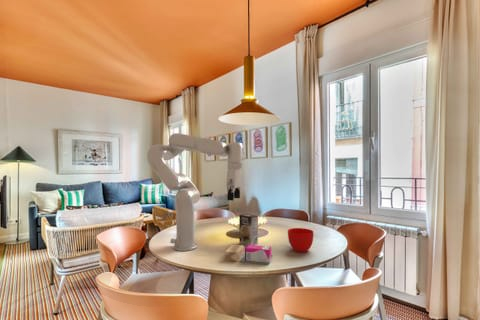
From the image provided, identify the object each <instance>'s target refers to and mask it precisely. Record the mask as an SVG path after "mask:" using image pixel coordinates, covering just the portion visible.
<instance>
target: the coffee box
mask: <svg viewBox="0 0 480 320" xmlns="http://www.w3.org/2000/svg"><path fill="white" fill-rule="evenodd" d="M238 217H239V218H238V219H239V220H238V224H239V225H238V226H239V227H238V228H239V229H238V231H239V235H238V236H239V240H238V241H239V242H238V243H239V244H241V245H244V246H247V245H258V244H259V215H257V214H251V213H250V214H249V213H242V214H241V213H240V214H239V216H238Z"/></svg>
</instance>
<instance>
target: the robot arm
mask: <svg viewBox="0 0 480 320" xmlns="http://www.w3.org/2000/svg"><path fill="white" fill-rule="evenodd" d="M185 151H186V152H192V153H196V154H197V153H202V154H207V155H212V156H217V157H227V173H226V182H225V183H226V184H225V187H226V189H227V190H226V191H227V196H226V197H227V198H226V199H227V201H233V202H234V199H241V184H242V171H241V170H243V143H241V142H236V141H235V142H234V141H231V142H229V143H228V142H224V141H221V140H215V139H211V138H205V137H200V136H196V135H195V136H194V135H189V134H186V133H185V134H184V133H179V132H178V133H171V135H169V138H168V144H167V145H165V144H160V143H159V144H158V143H156V144H154V145H151V146H150V147H149V149H148V151H147V159H146V160H147V163H148V165H149V166H150V167H151V168H150V169H152V170H153V172H155V174H156V176H157V177H158V178H159V179H160V180H161V182H162V183H163V184H164V185H165V187H166V188H167V189H168V190H170V191H173V192H175V191H177V192H176V193H175V197H174V204H175V210H176V211H175V213H176V218H175V219H176V225H175V226H176V233H175V234H176V238H170V241H169V242H170V244H174V245H173V249H174V250H175V251H179V252H187V251H192V250H195V249H197V248H198V244H197V243H196V242H195V208H194V204H196V203H198V202H199V201H200V198H201V193H200V191H199V189H198V188H197V186H196V184H194V183H193V182H192V181H191V179H190V178H189V176H188V175H186V174H184V173H181V172H180V173H177V172H176V171H175V169H173V166H171V165H170V164H169V163H168V162H167V161H170V160H172V159H175V158H176V157H177V156H179V155H180V154H181V153H184V152H185Z"/></svg>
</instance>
